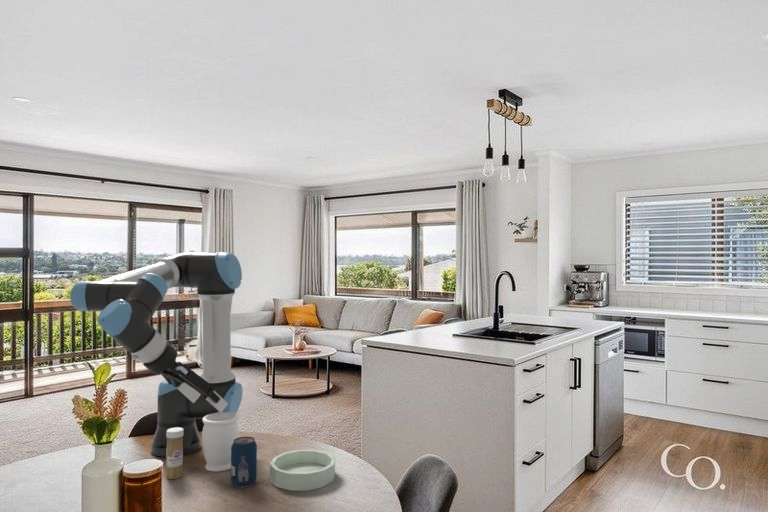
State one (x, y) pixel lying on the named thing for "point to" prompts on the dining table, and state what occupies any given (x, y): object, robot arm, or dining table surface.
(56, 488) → the dining table surface
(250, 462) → the soda can
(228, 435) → the jar
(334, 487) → the dining table surface
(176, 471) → the sprinkles bottle
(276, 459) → the bowl
